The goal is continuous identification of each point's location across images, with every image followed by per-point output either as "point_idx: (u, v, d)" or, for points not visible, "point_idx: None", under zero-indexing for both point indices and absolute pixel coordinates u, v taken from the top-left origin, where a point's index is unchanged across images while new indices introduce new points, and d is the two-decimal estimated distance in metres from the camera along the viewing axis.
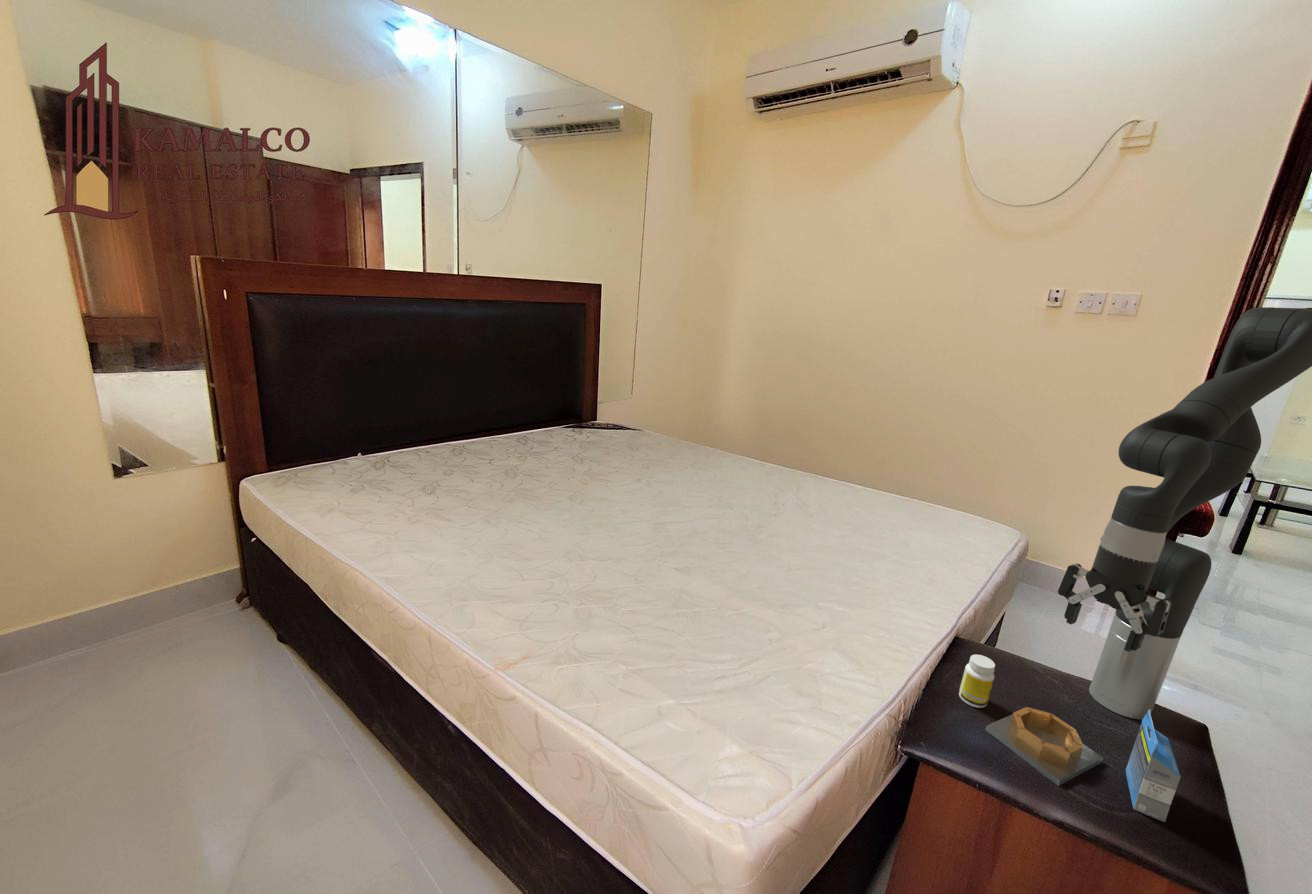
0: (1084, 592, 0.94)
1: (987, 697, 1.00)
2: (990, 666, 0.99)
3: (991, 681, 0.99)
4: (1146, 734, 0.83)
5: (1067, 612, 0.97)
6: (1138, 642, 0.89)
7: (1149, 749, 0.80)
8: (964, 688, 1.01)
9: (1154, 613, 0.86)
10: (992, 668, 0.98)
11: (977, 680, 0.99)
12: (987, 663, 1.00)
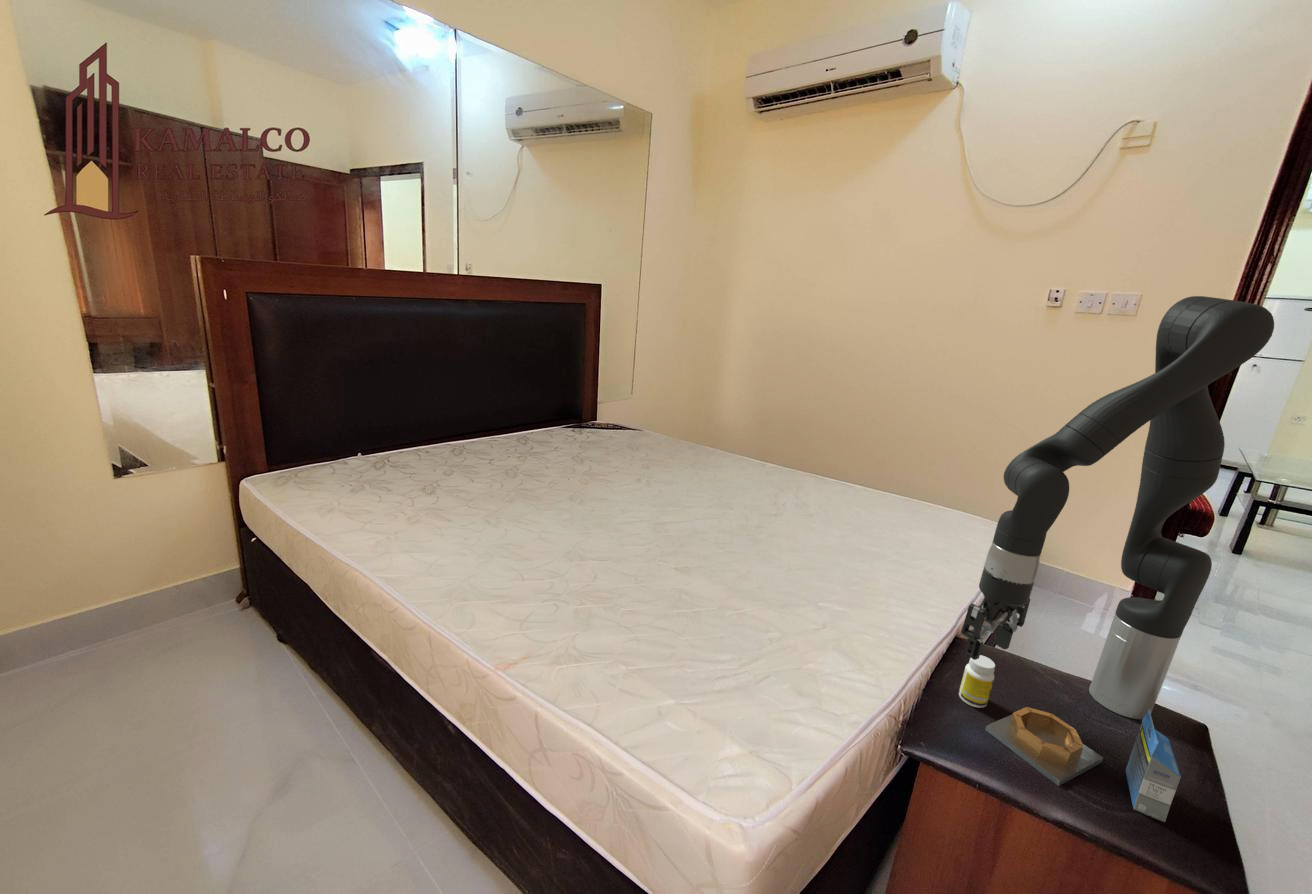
0: (993, 627, 0.94)
1: (987, 697, 1.00)
2: (990, 666, 0.99)
3: (991, 681, 0.99)
4: (1146, 734, 0.83)
5: (974, 651, 0.96)
6: None
7: (1149, 749, 0.80)
8: (964, 688, 1.01)
9: (1024, 609, 0.98)
10: (992, 668, 0.98)
11: (977, 680, 0.99)
12: (987, 663, 1.00)
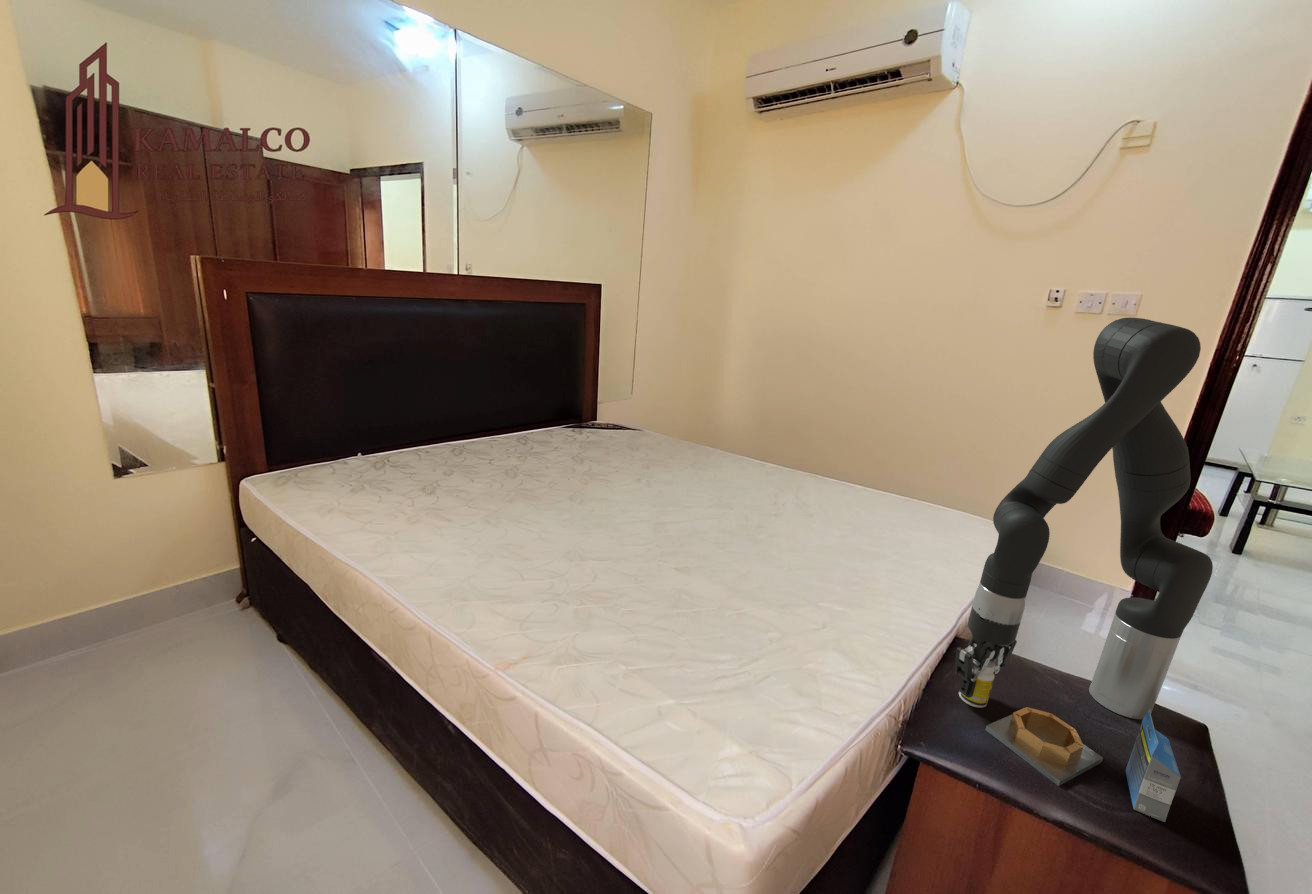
0: (983, 666, 0.97)
1: (987, 697, 1.00)
2: (990, 666, 0.99)
3: (991, 681, 0.99)
4: (1146, 734, 0.83)
5: (968, 689, 0.99)
6: None
7: (1149, 749, 0.80)
8: None
9: (1009, 651, 1.01)
10: (992, 668, 0.98)
11: (977, 680, 0.99)
12: None
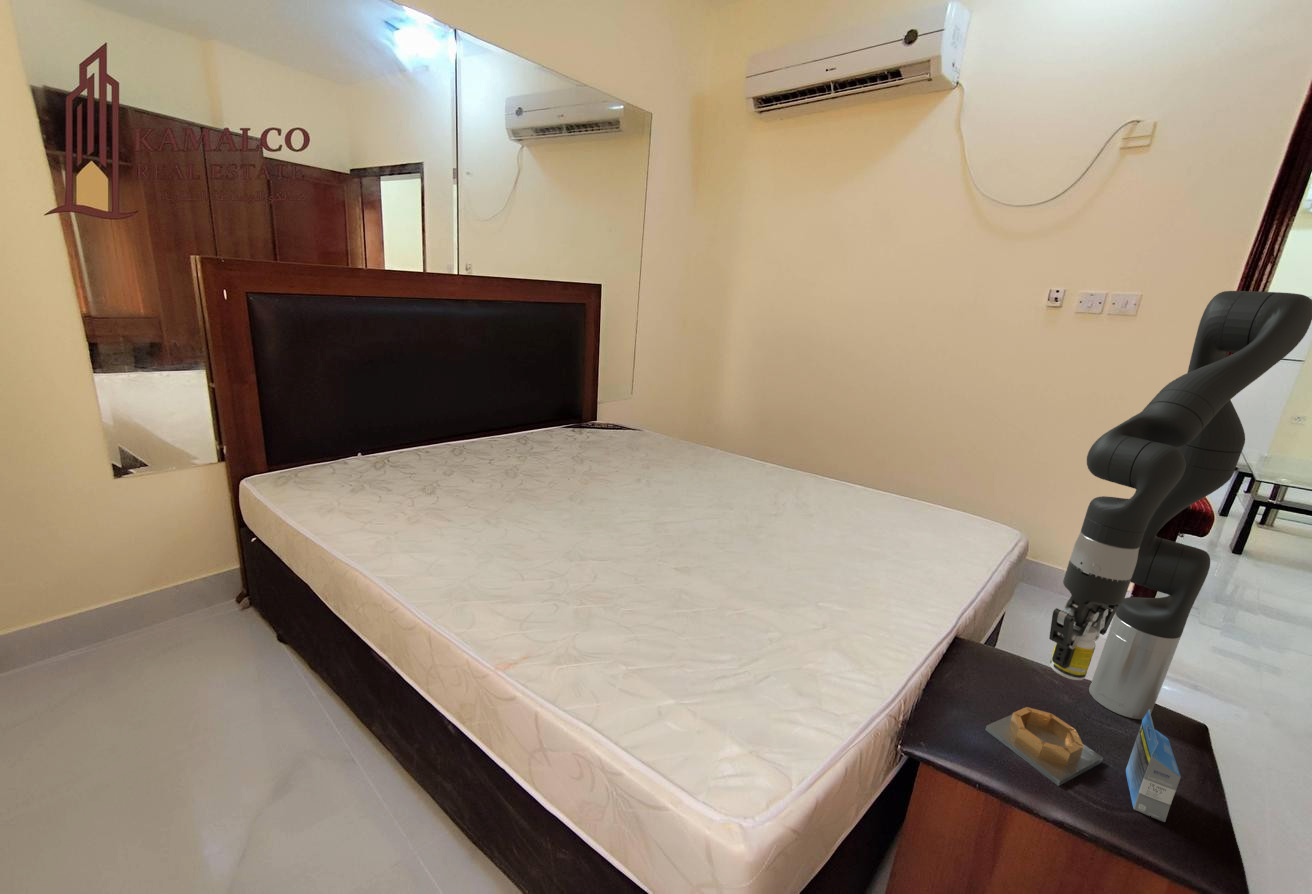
0: (1085, 631, 0.83)
1: (1087, 668, 0.86)
2: (1091, 631, 0.85)
3: (1093, 649, 0.85)
4: (1146, 734, 0.83)
5: (1065, 658, 0.85)
6: None
7: (1149, 749, 0.80)
8: None
9: (1111, 614, 0.87)
10: (1094, 633, 0.84)
11: (1076, 648, 0.85)
12: None
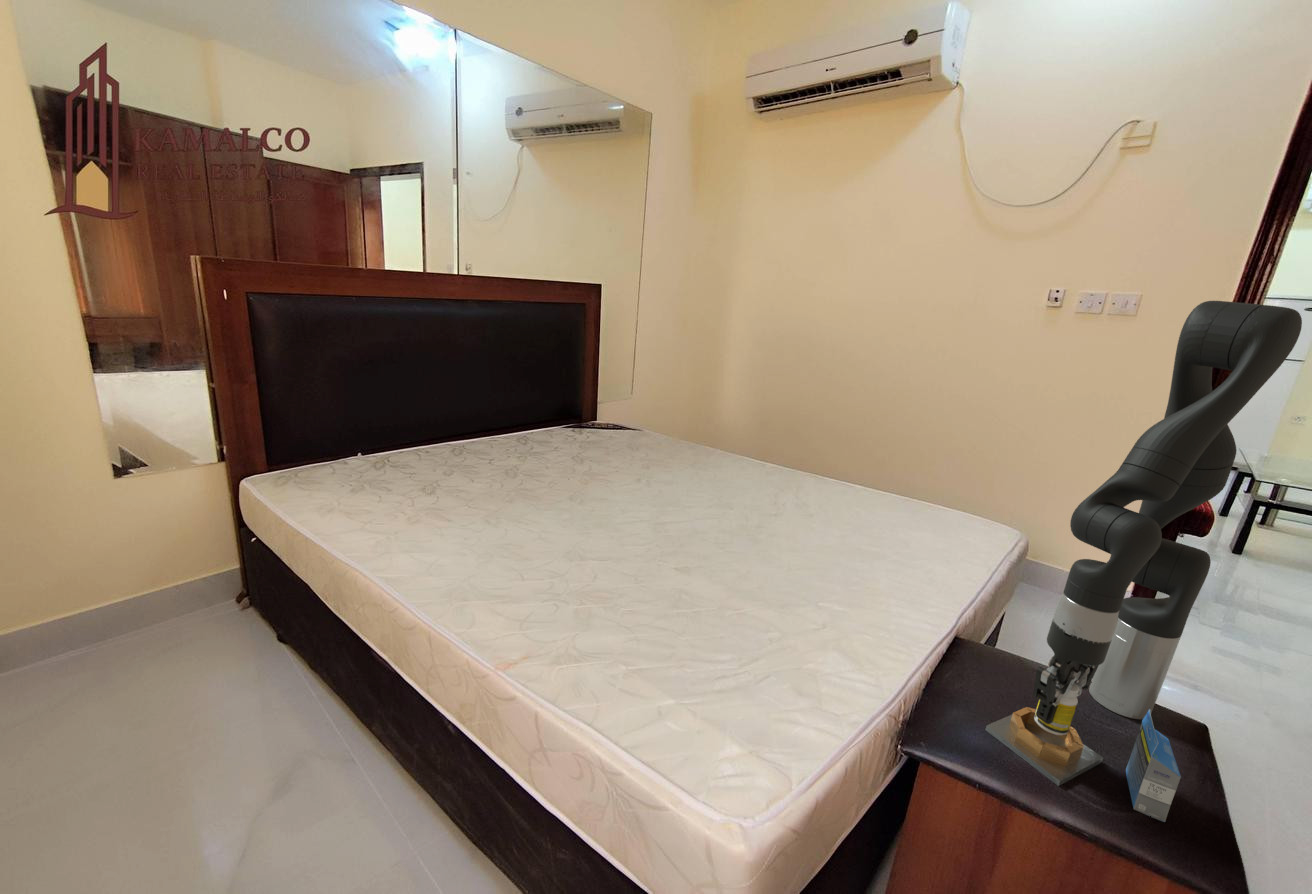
0: (1067, 689, 0.86)
1: (1069, 723, 0.88)
2: (1074, 688, 0.87)
3: (1075, 705, 0.87)
4: (1146, 734, 0.83)
5: (1048, 715, 0.88)
6: None
7: (1149, 749, 0.80)
8: None
9: (1093, 671, 0.89)
10: (1076, 691, 0.87)
11: (1059, 705, 0.88)
12: None
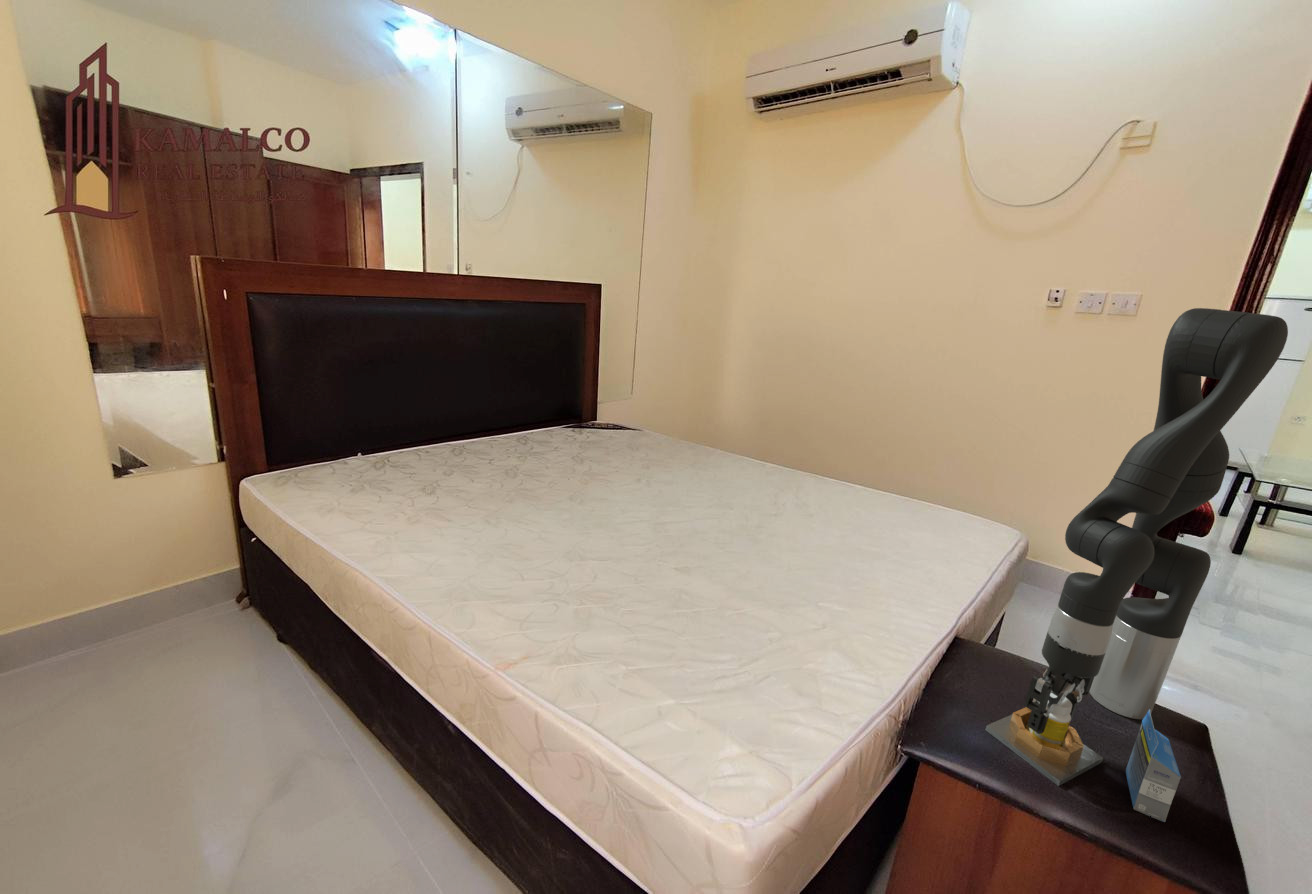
0: (1060, 700, 0.86)
1: (1062, 740, 0.90)
2: (1067, 706, 0.89)
3: (1068, 722, 0.88)
4: (1146, 734, 0.83)
5: (1039, 725, 0.88)
6: None
7: (1149, 749, 0.80)
8: None
9: (1091, 678, 0.90)
10: (1069, 708, 0.88)
11: (1052, 721, 0.89)
12: (1063, 701, 0.89)
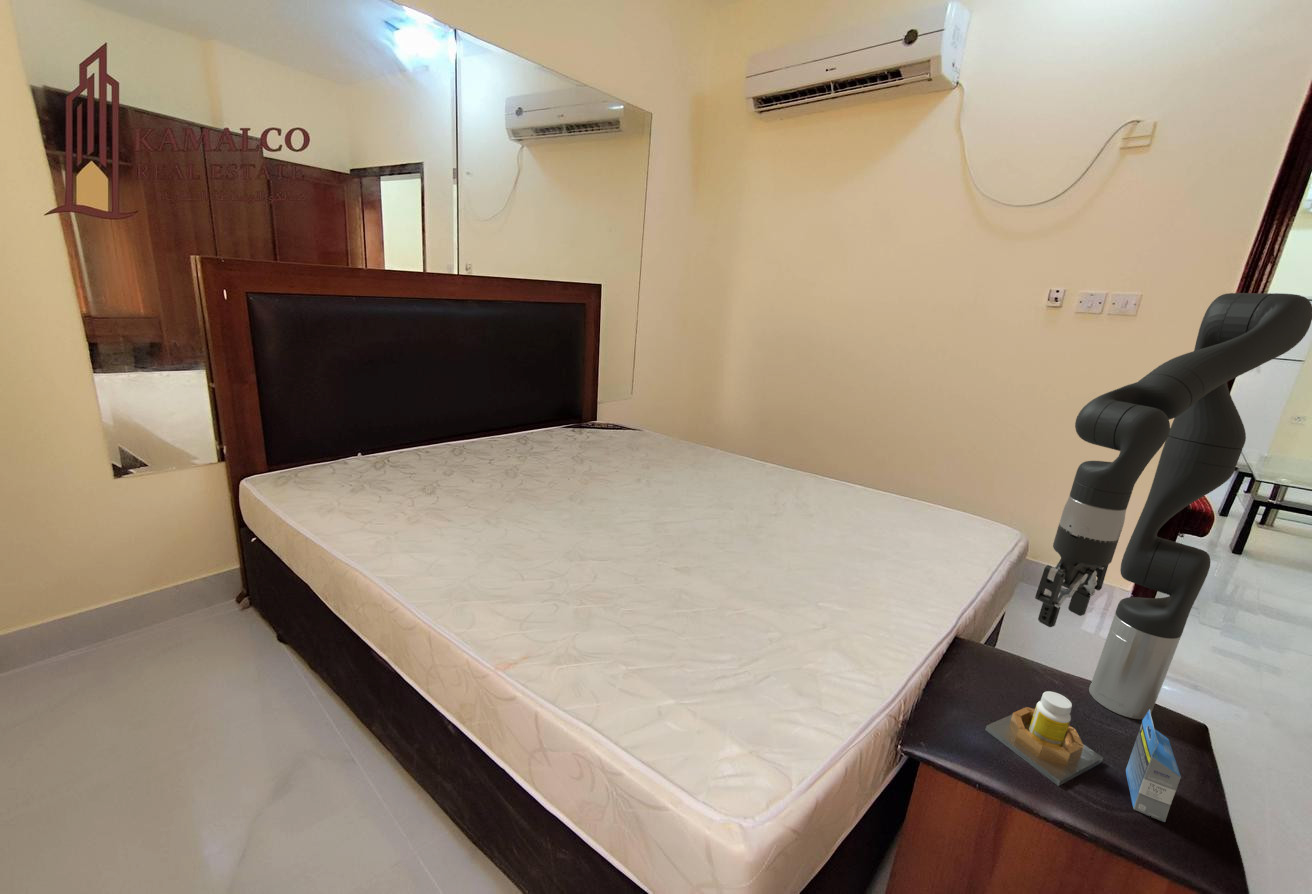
0: (1072, 590, 0.85)
1: (1062, 740, 0.90)
2: (1067, 706, 0.88)
3: (1068, 722, 0.88)
4: (1146, 734, 0.83)
5: (1050, 617, 0.87)
6: None
7: (1149, 749, 0.80)
8: (1036, 729, 0.91)
9: (1103, 571, 0.89)
10: (1069, 708, 0.88)
11: (1052, 721, 0.89)
12: (1063, 701, 0.89)
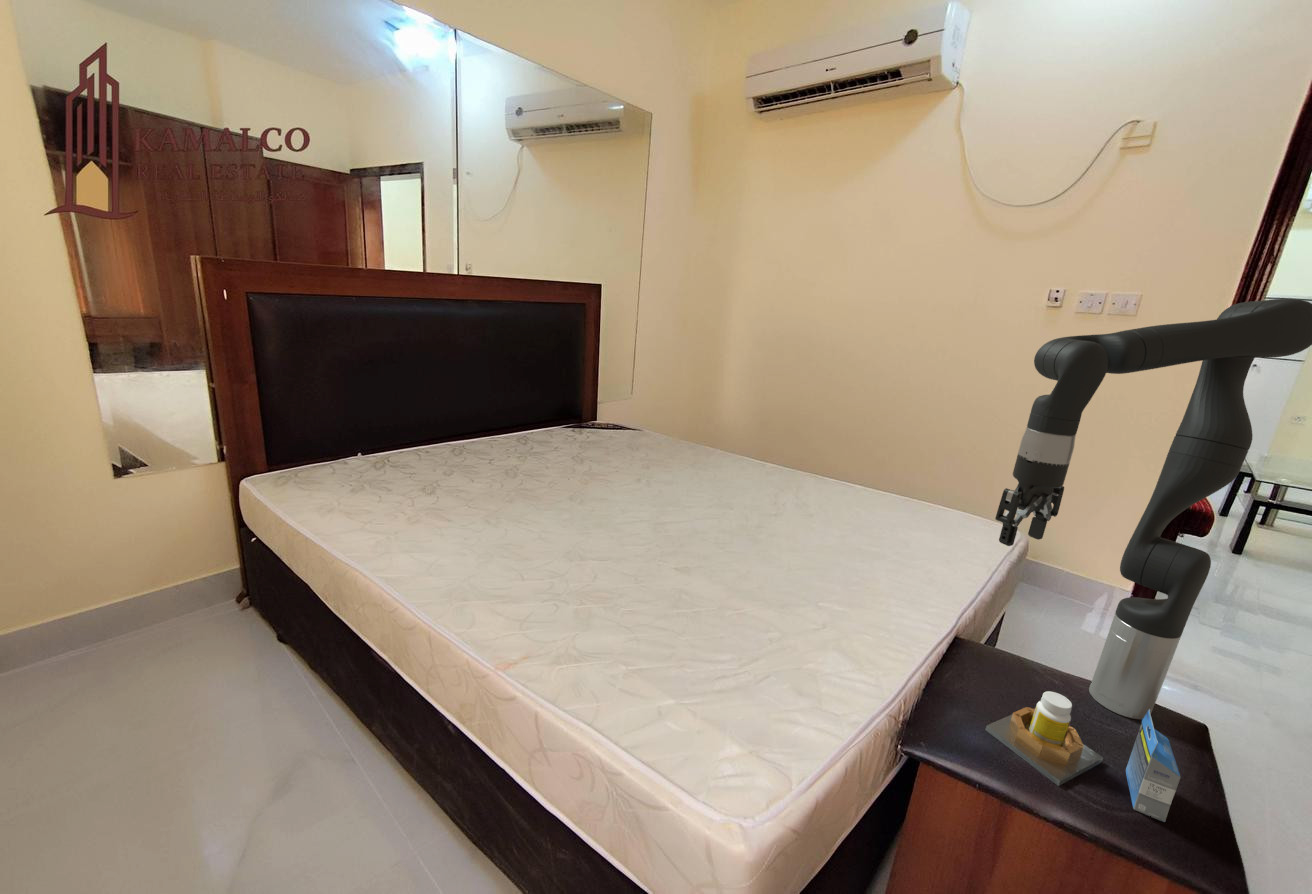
0: (1028, 511, 0.95)
1: (1062, 740, 0.90)
2: (1067, 706, 0.88)
3: (1068, 722, 0.88)
4: (1146, 734, 0.83)
5: (1009, 537, 0.96)
6: None
7: (1149, 749, 0.80)
8: (1036, 730, 0.91)
9: (1058, 498, 0.99)
10: (1069, 708, 0.88)
11: (1052, 721, 0.89)
12: (1063, 702, 0.89)
